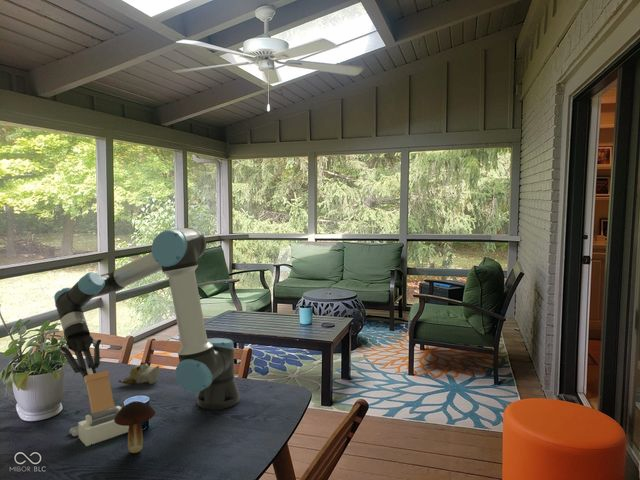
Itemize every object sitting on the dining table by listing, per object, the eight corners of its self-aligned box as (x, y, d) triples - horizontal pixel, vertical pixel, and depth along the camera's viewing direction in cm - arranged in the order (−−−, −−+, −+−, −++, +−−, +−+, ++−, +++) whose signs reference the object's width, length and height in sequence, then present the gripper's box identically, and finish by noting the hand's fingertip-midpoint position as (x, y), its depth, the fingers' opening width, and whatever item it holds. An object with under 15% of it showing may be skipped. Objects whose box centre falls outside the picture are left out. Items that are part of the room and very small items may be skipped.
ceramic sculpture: (152, 366, 180) (116, 367, 181) (154, 387, 180) (118, 388, 182) (164, 357, 190) (129, 358, 192) (165, 378, 191) (131, 379, 192)
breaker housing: (68, 433, 144) (67, 410, 144) (117, 418, 155) (116, 397, 154) (81, 447, 136) (80, 423, 135) (131, 430, 146) (130, 408, 145)
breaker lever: (91, 420, 141) (83, 377, 145) (114, 413, 146) (106, 371, 150) (94, 419, 139) (85, 375, 143) (117, 412, 144) (108, 370, 148)
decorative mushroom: (115, 465, 126) (113, 413, 125) (115, 446, 136) (113, 397, 135) (157, 457, 131) (155, 406, 130) (154, 439, 141) (153, 391, 140)
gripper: (92, 330, 166) (111, 388, 155) (52, 337, 157) (69, 399, 146) (97, 318, 162) (116, 377, 151) (56, 325, 153) (74, 388, 142)
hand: (93, 388), depth 149 cm, fingers closed
